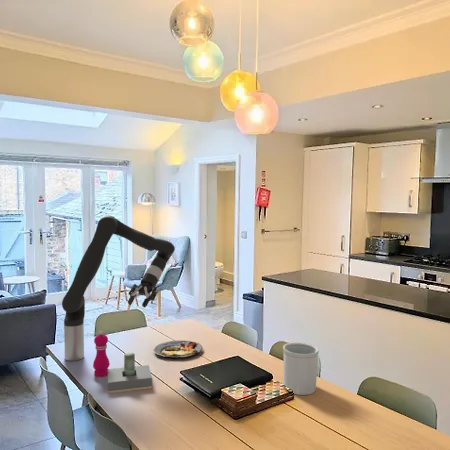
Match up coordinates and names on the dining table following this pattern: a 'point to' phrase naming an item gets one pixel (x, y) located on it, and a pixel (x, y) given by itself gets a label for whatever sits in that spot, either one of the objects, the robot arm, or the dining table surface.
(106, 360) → the pepper mill
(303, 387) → the utensil holder
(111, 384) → the pin block
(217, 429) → the dining table surface
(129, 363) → the sage pin
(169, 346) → the food plate
